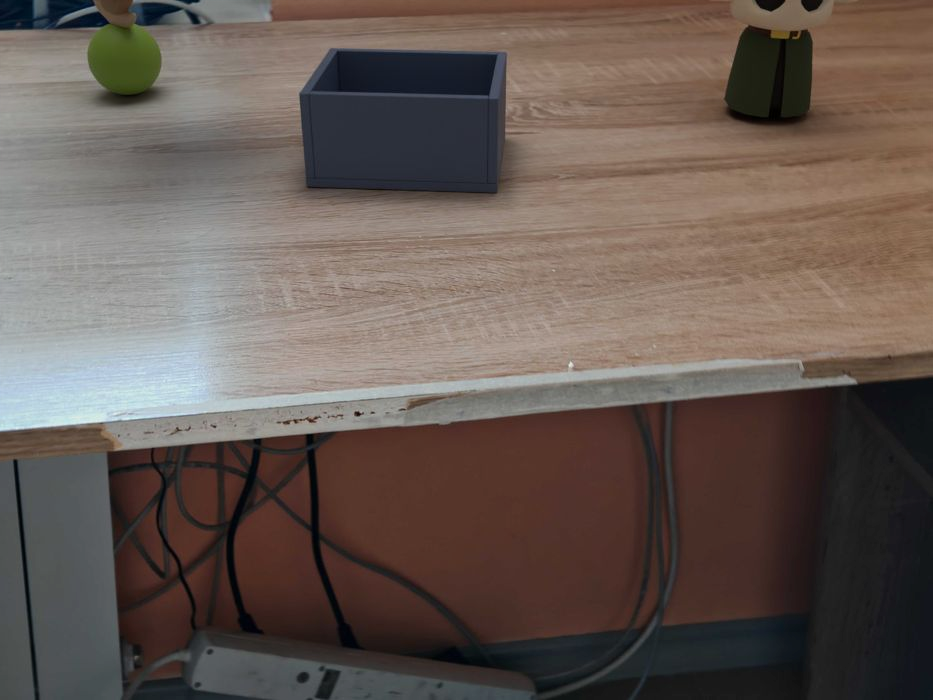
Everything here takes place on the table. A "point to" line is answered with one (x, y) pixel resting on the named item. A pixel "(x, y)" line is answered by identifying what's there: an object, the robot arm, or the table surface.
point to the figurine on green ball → (123, 51)
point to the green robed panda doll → (774, 55)
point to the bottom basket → (405, 120)
